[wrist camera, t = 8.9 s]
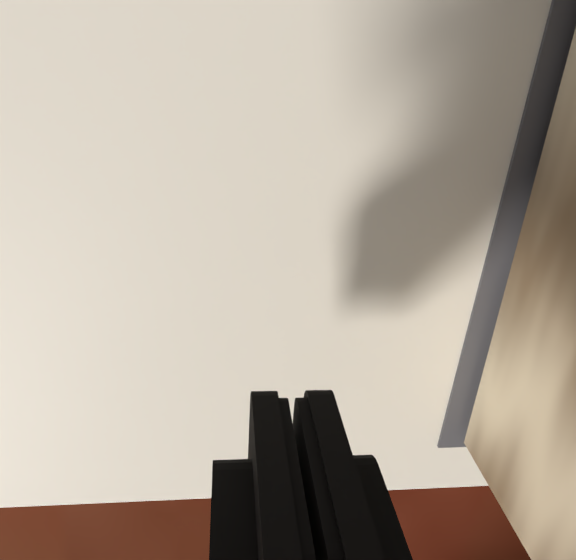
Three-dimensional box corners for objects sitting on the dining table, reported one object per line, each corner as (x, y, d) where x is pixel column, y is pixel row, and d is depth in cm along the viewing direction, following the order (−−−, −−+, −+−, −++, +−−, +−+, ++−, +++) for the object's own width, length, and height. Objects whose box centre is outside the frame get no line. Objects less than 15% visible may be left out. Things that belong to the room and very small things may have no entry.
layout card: (823, 462, 19) (837, 472, 19) (-16, 497, 15) (-24, 511, 15) (1336, -251, 10) (1386, -264, 10) (-321, -574, 7) (-361, -618, 6)
